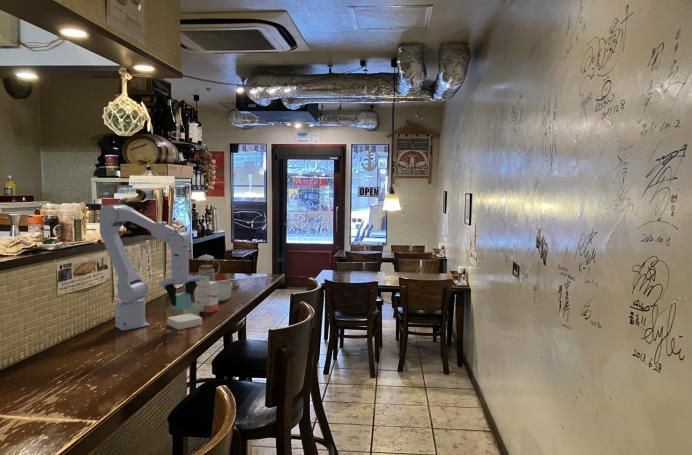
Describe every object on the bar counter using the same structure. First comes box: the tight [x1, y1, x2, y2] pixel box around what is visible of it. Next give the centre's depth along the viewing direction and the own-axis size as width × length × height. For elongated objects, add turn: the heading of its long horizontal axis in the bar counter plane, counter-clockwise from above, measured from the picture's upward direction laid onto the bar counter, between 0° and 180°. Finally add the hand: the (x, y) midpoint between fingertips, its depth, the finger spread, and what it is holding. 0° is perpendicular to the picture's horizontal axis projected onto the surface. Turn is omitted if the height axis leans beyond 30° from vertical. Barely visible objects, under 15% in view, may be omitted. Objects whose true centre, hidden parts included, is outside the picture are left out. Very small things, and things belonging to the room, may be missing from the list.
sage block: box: [182, 302, 200, 317], centre depth 185 cm, size 4×4×4 cm
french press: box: [197, 235, 221, 281], centre depth 244 cm, size 10×12×25 cm
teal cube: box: [171, 291, 192, 311], centre depth 169 cm, size 5×5×5 cm
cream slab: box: [167, 313, 203, 331], centre depth 173 cm, size 9×9×3 cm
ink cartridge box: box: [194, 274, 219, 314], centre depth 192 cm, size 9×5×15 cm, turn 62°
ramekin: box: [211, 280, 233, 302], centre depth 213 cm, size 13×13×7 cm
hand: (181, 304), depth 169 cm, fingers closed on teal cube, 5 cm apart
